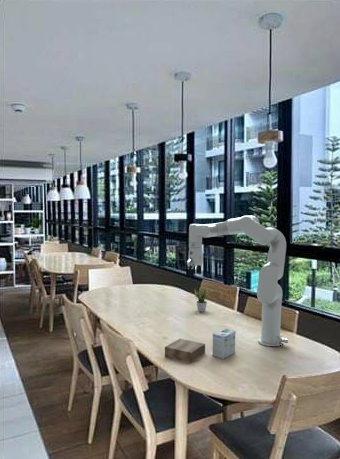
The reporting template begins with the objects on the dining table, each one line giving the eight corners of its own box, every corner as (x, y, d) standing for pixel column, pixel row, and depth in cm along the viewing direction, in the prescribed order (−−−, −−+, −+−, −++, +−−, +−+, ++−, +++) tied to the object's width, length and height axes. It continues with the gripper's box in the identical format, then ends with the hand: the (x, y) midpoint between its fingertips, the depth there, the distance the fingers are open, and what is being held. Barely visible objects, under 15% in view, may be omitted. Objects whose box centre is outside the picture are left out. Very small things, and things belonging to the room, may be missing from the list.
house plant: (213, 308, 269) (214, 285, 268) (214, 313, 255) (214, 289, 255) (193, 307, 270) (193, 284, 270) (192, 313, 257) (192, 288, 256)
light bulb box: (223, 349, 190) (224, 327, 189) (235, 352, 186) (236, 330, 185) (211, 355, 182) (212, 333, 181) (224, 359, 177) (224, 336, 177)
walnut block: (205, 354, 185) (205, 343, 184) (191, 363, 173) (191, 352, 172) (179, 348, 192) (179, 338, 192) (164, 357, 180) (164, 346, 180)
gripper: (194, 246, 212) (193, 277, 213) (207, 244, 227) (207, 273, 228) (182, 246, 216) (181, 276, 217) (196, 244, 231) (196, 272, 231)
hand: (194, 274), depth 222 cm, fingers open, 9 cm apart
